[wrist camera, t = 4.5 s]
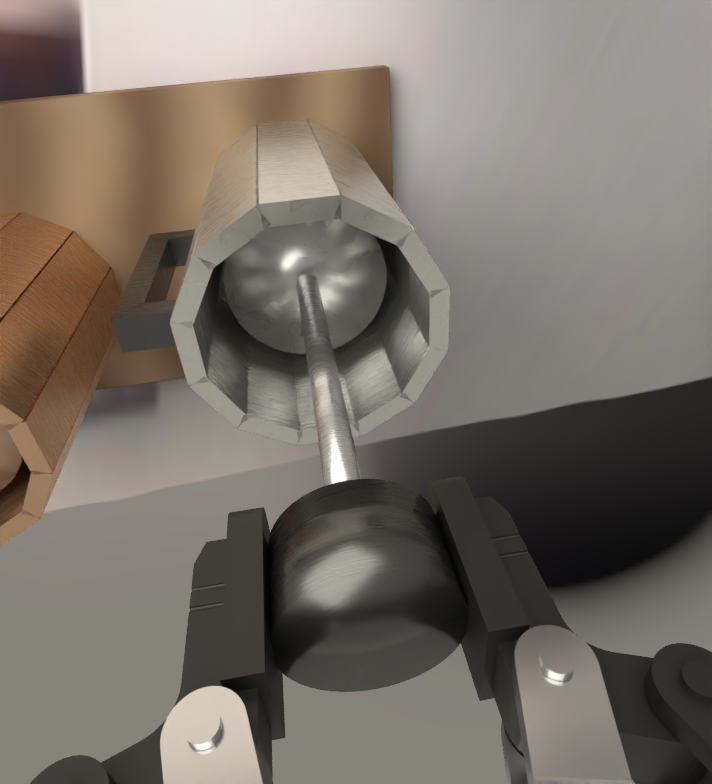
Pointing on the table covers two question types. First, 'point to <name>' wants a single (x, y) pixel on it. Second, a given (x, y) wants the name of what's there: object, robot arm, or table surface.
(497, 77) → the table surface
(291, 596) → the steel plunger
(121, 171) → the board
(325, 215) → the steel carafe
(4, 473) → the black knob plunger
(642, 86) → the table surface
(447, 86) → the table surface
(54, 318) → the copper carafe
